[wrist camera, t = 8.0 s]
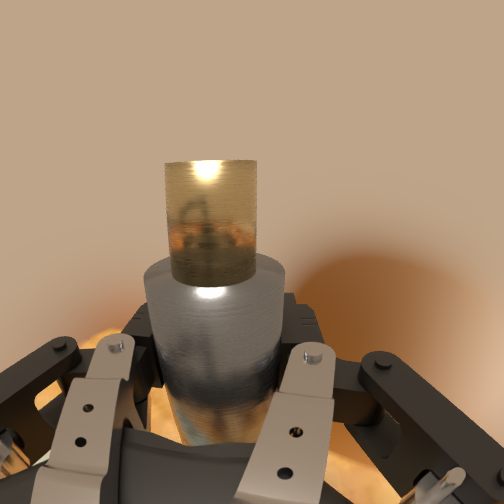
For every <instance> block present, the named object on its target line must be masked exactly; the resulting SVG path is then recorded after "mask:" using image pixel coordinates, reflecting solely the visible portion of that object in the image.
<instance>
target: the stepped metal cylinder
mask: <svg viewBox="0 0 504 504" xmlns="http://www.w3.org/2000/svg"><path fill="white" fill-rule="evenodd" d="M256 189H257V161H253V160H215V161H190V162H175V163H166V164H165V190H166V210H167V227H168V240H169V253H170V257H168V258H165V259H163V260H160V261H158V262H157V263H155V264H154V265H152V266H150V267H149V268H148V269H147V271H146V272H145V274H144V285H145V292H146V298H147V304H148V310H149V316H150V321H151V326H152V331H153V336H154V341H155V346H156V350H157V355H158V359H159V364H160V368H161V372H162V376H163V380H164V384H165V388H166V391H167V395H168V399H169V402H170V406H171V409H172V413H173V416H174V419H175V422H176V426H177V429H178V432H179V435H180V438H181V441H182V444H183V445H186V446H201V445H211V444H219V443H227V442H239V443H256V442H257V439H258V437H259V434H260V432H261V429H262V426H263V423H264V421H265V418H266V415H267V412H268V410H269V407H270V404H271V401H272V398H273V395H274V393H275V391H278V390H277V385H278V372H279V358H280V344H281V333H282V322H283V304H284V284H285V270H284V268H283V266H282V265H281V264H280V263H279V262H278V261H276V260H274V259H272V258H270V257H268V256H265V255H262V254H258V253H256V213H257V212H256V211H257V210H256V209H257V197H256V196H257V190H256Z"/></svg>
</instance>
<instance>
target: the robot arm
mask: <svg viewBox="0 0 504 504" xmlns="http://www.w3.org/2000/svg"><path fill="white" fill-rule="evenodd" d="M56 380H57V383H58V385H59V386H60V388H61V390H62V393H61V394H59V395H58V396H57V397H56V398H54V399H53V400H52V401H50V402H49V403H48V404H47V405H45V406H44V407H43V408H42V409H40V410H37V408H36V406H35V403H34V400H35V397H36V395H37V394H38V393H40V392H41V391H42V390H44V389H45V388H46V387H48V386H49V385H50V384H52V383H53V382H54V381H56ZM163 385H164V380H163V376H162V372H161V368H160V364H159V359H158V355H157V350H156V346H155V341H154V336H153V331H152V326H151V321H150V316H149V310H148V304H147V302H146V303H145V304H144V305H142V306H141V307H140V308H139V309H138V310H137V312H136V314H134V316H133V317H132V319H131V320H130V321H129V322H128V324H127V325H126V326H125V328H124V329H123V331H122V332H121V333H117V334H111V335H108V336H106V337H104V338H102V339H101V340H100V341H99V342H98V344H97V346H96V348H94V349H79V347H78V345H77V342H76V340H75V339H73V338H72V337H67V336H64V337H58V338H55V339H53V340H51V341H49V342H48V343H46V344H45V345H43V346H41V347H40V348H38V349H37V350H35V351H34V352H32V353H30V354H29V355H27V356H26V357H24V358H23V359H21V360H20V361H18V362H17V363H15V364H14V365H12V366H10V367H9V368H7V369H6V370H4V371H3V372H1V373H0V504H354V503H352V502H351V501H349V500H348V499H347V498H345V497H344V496H343V495H342V494H340V493H339V492H338V491H336V490H335V489H334V488H333V487H331V486H330V485H329V484H328V483H326V482H325V481H324V474H325V469H326V463H327V456H328V450H329V443H330V436H331V428H332V421H334V422H341V423H344V425H345V427H346V428H347V430H348V431H349V432H350V434H351V435H352V436H353V437H354V439H355V440H356V441H357V443H358V444H359V445H360V447H361V448H362V449H363V450H364V452H365V453H366V454H367V456H368V457H369V458H370V459H371V461H372V462H373V463H374V465H375V466H376V467H377V468H378V470H379V471H380V472H381V473H382V475H383V476H384V477H385V478H386V480H387V481H388V482H389V483H390V485H391V486H392V487H393V488H394V490H395V491H396V492H397V493H398V494H399V496H400V497H401V498H402V499H401V501H400V503H399V504H504V448H503V447H502V446H501V445H499V444H498V443H497V442H496V441H495V440H494V439H493V438H492V437H490V436H489V435H488V434H487V433H486V432H485V431H484V430H483V429H481V428H480V427H479V426H478V425H477V424H476V423H475V422H473V421H472V420H471V419H470V418H469V417H468V416H466V415H465V414H464V413H463V412H462V411H461V410H459V409H458V408H457V407H456V406H455V405H454V404H452V403H451V402H450V401H449V400H448V399H447V398H446V397H444V396H443V395H442V394H441V393H440V392H439V391H437V390H436V389H435V388H434V387H433V386H432V385H430V384H429V383H428V382H427V381H426V380H425V379H423V378H422V377H420V375H419V374H417V373H416V372H415V371H414V370H413V369H411V368H410V367H409V366H408V365H407V364H406V363H404V362H403V361H402V360H401V359H400V358H398V357H397V356H396V355H394V354H392V353H389V352H384V351H375V352H370V353H368V354H366V355H365V356H364V357H363V358H362V361H361V363H359V362H351V361H345V360H341V359H339V358H336V355H335V352H334V351H333V350H332V348H330V347H329V346H327V345H325V343H324V340H323V337H322V334H321V331H320V328H319V325H318V322H317V319H316V316H315V314H314V310H312V309H311V308H310V307H309V306H308V305H307V304H296V300H295V296H294V293H284V304H283V322H282V333H281V344H280V358H279V372H278V385H277V390H278V391H275V393H274V395H273V398H272V401H271V404H270V407H269V410H268V412H267V415H266V418H265V421H264V423H263V426H262V429H261V432H260V434H259V437H258V439H257V442H256V443H239V442H227V443H219V444H211V445H201V446H186V445H182V444H180V443H177V442H174V441H172V440H169V439H167V438H164V437H162V436H159V435H157V434H154V433H151V396H150V393H149V392H150V390H151V388H152V387H156V388H162V387H163ZM387 412H388V413H389V414H390V415H391V416H392V417H393V418H394V419H395V420H396V421H397V422H398V423H399V424H398V423H397V422H396V421H395V420H394V419H393V418H392V417H391V416H390V415H389V414H388V413H387ZM50 450H51V451H50ZM49 451H50V455H49V459H47V460H45V461H43V462H40V463H38V464H36V465H34V464H35V463H36V462H37V461H38V460H39V459H41V458H42V457H43V456H44V455H45V454H46V453H47V452H49ZM33 465H34V466H33Z"/></svg>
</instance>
